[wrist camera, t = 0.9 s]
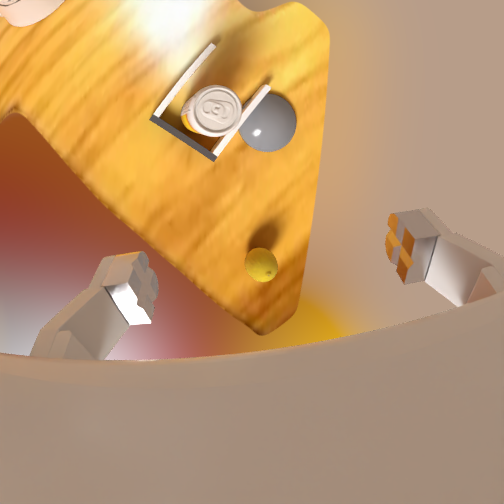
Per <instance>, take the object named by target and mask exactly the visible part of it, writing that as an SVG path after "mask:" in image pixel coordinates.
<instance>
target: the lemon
mask: <svg viewBox="0 0 504 504" xmlns="http://www.w3.org/2000/svg"><path fill="white" fill-rule="evenodd" d="M245 268H246V271H247V273H248V274H249V275H250V276H251V277H252V278H253V279H255V280H256V281H259V282H266V281H269V280H271V279H272V278H273V277H274V276H275V275H276V273H277V270H278V264H277V260H276V258H275V256H274V255H273V254H272V253H271V252H270V251H269V250H267V249H265V248H255V249H252V250H251V251H250V252H249V253H248V254H247V255H246V258H245Z"/></svg>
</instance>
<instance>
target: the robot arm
mask: <svg viewBox="0 0 504 504" xmlns="http://www.w3.org/2000/svg"><path fill="white" fill-rule="evenodd" d="M64 1H65V0H0V16H1V17H5V18H6V20H7V21H8V22H9V23H10V24H11V25H13V26H18V27H22V26H28V25H31V24H34V23H36V22H38V21H40V20H42V19H43V18H45V17H47V16H48V15H49V14H51V13H52V12H53V11H55V10H56V9H57V8H58V7H59V6H60V5H61V4H62V3H63V2H64ZM388 226H389V227H390V229H391V230H390V231H389V232H388V234H387V235H386V241H385V246H386V253H387V256H388V258H389V260H390V262H391V263H393V264H395V265H397V269H396V272H397V273H398V275H399V277H400V278H401V280H402V282H403V284H404V285H405V284H410V283H415V282H420V281H425V282H426V283H427V284H429V285H430V286H431V287H433V288H434V289H435V290H437V291H438V292H439V293H441V294H442V295H444V296H445V297H446V298H447V299H449V300H450V301H451V302H452V303H454V304H455V305H456V306H457V307H456V308H453V309H450V310H447V311H444V312H441V313H437V314H434V315H431V316H427V317H424V318H421V319H417V320H413V321H410V322H406V323H402V324H398V325H394V326H390V327H386V328H382V329H378V330H374V331H370V332H365V333H360V334H356V335H351V336H346V337H342V338H337V339H332V340H327V341H321V342H315V343H309V344H304V345H297V346H291V347H285V348H278V349H271V350H264V351H256V352H247V353H239V354H229V355H219V356H207V357H194V358H179V359H159V360H104V359H105V358H106V357H107V355H108V354H109V353H110V351H111V350H112V349H113V347H114V346H115V345H116V343H117V342H118V341H119V339H120V338H121V336H122V335H123V334H124V333H125V332H126V330H127V329H128V328H129V325H135V324H144V323H151V321H152V317H153V312H154V308H155V307H154V305H153V304H152V302H153V301H154V300H155V299H156V298H157V296H158V281H157V277H156V274H155V272H154V271H153V270H152V269H150V268H149V267H148V263H149V259H148V257H147V255H146V253H144V252H143V251H139V252H133V253H127V254H120V255H113V256H108V257H105V258H103V259H102V261H101V263H100V265H99V267H98V269H97V271H96V273H95V275H94V277H93V279H92V281H91V283H90V285H89V288H88V289H84V290H83V291H82V292H81V293H80V294H79V295H77V296H76V297H75V298H74V299H73V300H72V301H71V302H70V303H69V304H67V305H66V306H65V307H64V308H63V309H62V310H61V311H60V312H59V313H58V314H57V315H56V316H55V317H54V318H52V319H51V320H50V321H49V322H48V323H47V324H46V325H45V326H44V327H43V328H42V329H41V330H40V332H39V334H38V336H37V339H36V341H35V343H34V346H33V348H32V351H31V353H30V356H24V355H15V354H6V353H0V504H504V257H503V256H501V255H500V254H498V253H496V252H494V251H492V250H490V249H488V248H486V247H484V246H482V245H480V244H478V243H476V242H474V241H472V240H470V239H468V238H466V237H464V236H462V235H460V234H457V233H452V232H451V231H450V229H449V228H448V227H447V226H446V225H445V224H444V223H443V222H442V221H441V220H440V219H439V217H438V216H437V215H436V214H435V213H434V212H433V211H432V210H431V209H429V208H423V209H417V210H412V211H406V212H399V213H393V214H390V216H389V219H388Z"/></svg>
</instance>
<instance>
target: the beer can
mask: <svg viewBox="0 0 504 504" xmlns="http://www.w3.org/2000/svg"><path fill="white" fill-rule="evenodd" d="M241 116H242V104H241V101H240V99H239V97H238V96H237V94H236V93H235V92H234V91H232V90H231V89H229V88H227V87H225V86H221V85H211V86H207V87H204V88H202V89H201V90H199V91H198V92H197V93H196V94H194V95H193V96H192V97H191V98H190V99H189V100H188V101H187V102H186V103H185V104H184V105H183V107H182V110H181V120H182V122H183V124H184V126H185V127H186V128H187V129H188V130H190V131H192V132H195V133H199V134H203V135H206V136H211V137H219V136H223V135H226V134H228V133H230V132H231V131H232V130H233V129H235V127H236V126H237V125H238V124H239V122H240V119H241Z"/></svg>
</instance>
